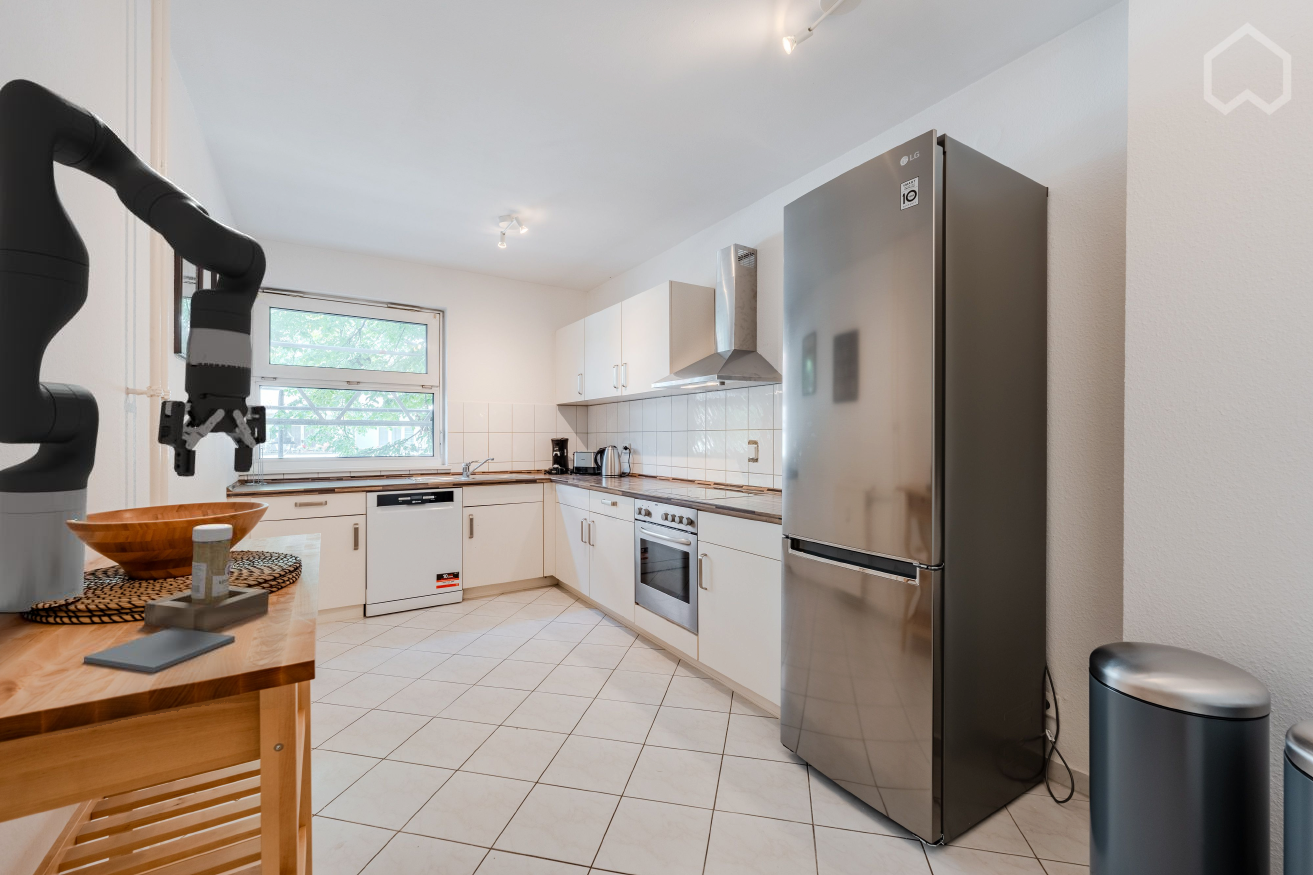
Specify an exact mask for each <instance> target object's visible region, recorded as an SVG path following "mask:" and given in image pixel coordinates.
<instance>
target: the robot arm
mask: <svg viewBox="0 0 1313 875" xmlns="http://www.w3.org/2000/svg"><path fill="white" fill-rule="evenodd" d="M106 123H107V122H105V121H104V120H102V119H101V118H100V117H99V116H98V115H96V114H95V113H94V112H92V111H91V110H88V109H87V108H85V107H83V106H81V105H80V104H78V103H76V102H74V101H72V100H70V99H69V98H66V97H64V96H63V95H61V94H59V93H57V92H56V91H54V90H52V89H49V88H48V87H47V86H43V85H41V84H39V83H37V82H34V81H32V80H28V79H24V78H18V79H13V80H10V81H8V82H6V83H5V84H4V85H3V86H2V87H1V89H0V444H8V445H21V444H22V445H29V444H33V445H34V444H35V445H37V444H38V445H39V447H38V449H37V451H36V453H35V454H34V455H32V456H31V457H30V458H28V459H26V460H24V461H22V462H21V463H17V464H15V465H11V466H9V467H6V468H3V469H1V470H0V613H19V612H30V609H31V607H32V606H34V605H35V604H38V603H43V602H50V601H59V600H65V599H69V598H74V597H77V596H79V595H81V594H83V595H84V579H85V577H84V576H85V564H86V563H85V562H86V560H85V558H86V543H85V544H84V543H83V542H82V541H81V540H80V539H79V538H78V537H77V536H76V535H75V534H74V533H73V531H71V530H70V529H69V527H68V526H67V525H66V521H67V520H75V519H77V520H75V521H84V522H86V523H87V514H88V513H87V511H88V510H87V508H88V483H89V482H88V481H89V478H90V475H91V474H92V471H93V470H94V466H95V460H96V450H97V443H98V434H99V424H100V411H99V406H98V405H99V404H98V402H97V399H96V398H95V396H94V394H93V393H92V392H91V391H90V390H89V389H87V388H86V387H84V386H81V385H78V384H73V383H60V382H50V381H40V380H41V379H40V375H41V368H42V367H41V366H42V362H43V359H44V358H43V357H44V355H45V352H46V349H47V348H48V346H49V344H50V342H51V341H52V339H54V338H55V336H56V335H57V334H58V333H59V332H60V331H61V330H62V329H63V328H64V327H66V326H67V324H69V322H70V321H71V320H73V319H74V317H75V316H76V315H77V314H78V313H79V312H80V310H81V309H82V308H83V307H84V305H85V303H86V301H87V300H88V299H87V298H88V294H89V280H90V279H89V277H90V255H89V251H88V249H87V245H86V244H85V242H84V240H83V238H82V236H81V233H80V232H79V230H78V229H77V227H76V225H75V222H74V221H73V220H72V218H71V216H70V214H69V213H68V212H67V210H66V208H65V205H64V204H63V202H62V200H61V198H60V196H59V193H58V190H57V185H56V181H55V169H54V168H55V167H54V162H56V163H57V164H60V165H63V166H65V167H68V168H73V169H76V170H79V171H81V172H83V173H85V174H87V175H89V176H92V177H93V178H95V179H97V180H99V181H101V182H103V183H105V184H106V185H108V186H110V187H111V189H114V191H115V193H116V196H117V197H118V199H119V200H120V202H121V203H122V204H123V205H124V207H125V208H126V209H127V210H128V211H129V212H131V214H133V215H134V216H136V218H138V219H139V220H140V221H142V222H143V223H144V224H146V225H147V226H148V227H149V228H151V229H152V230H154V231H155V232H156V233H158V234H159V235H161V237H163V239H164V240H165V242H166V243H167V244H168V245H169V246H170V247H171V248H172V250H173V251H174V252H175V253H176V254H178V256H179V257H181V258H182V260H185V261H186V262H187V263H189V264H191V265H193V266H194V267H197V268H199V269H201V270H203V271H204V270H205V271H207V272H210V273H213V274H216V275H218V278H217V281H216V284H215V285H214V288H201V289H197V290H195V291H194V292H193V293H192V295H191V298H190V303H189V304H190V309H189V310H190V312H189V330H188V336H187V341H186V346H185V347H186V350H185V368H184V369H185V373H184V392H185V393H187V396H188V397H187V400H186V402H184V401H182V400H172V399H170V400H169V399H168V400H165V399H164V400H163V401H162V402H161V404H160V405H161V407H160V414H159V425H158V433H157V443H158V444H160V445H166V446H169V447H171V448H173V450H174V455H173V458H174V460H173V461H174V462H173V469H174V473H176V475H177V476H178V477H183V478H184V477H185V478H189V477H190V478H191V477H194V476H195V475H196V473H195V472H196V453H197V450H196V449H194V448H195V447H196V446H197V444H199V442H200V441H201V439H203V438H205V437H207V436H208V434H210V433H213V434H216V433H223V434H225V435H226V436H227V437H229V438H231V440H232V441H233V443H234V445H235V446H236V447H234V460H233V470H234V472H236V473H249V472H250V471H251V469H252V466H253V456H254V454H253V452H254V448H255V447H256V446H257V445H259V444H265V443H266V442H267V417H266V416H267V409H266V407H265V406H264V405H254V404H248V405H247V402H246V401H247V400H246V399H247V398H249V397H250V395H251V386H252V360H253V359H252V358H253V348H252V347H253V346H252V342H251V341H252V340H251V339H252V338H251V334H252V332H251V331H252V309H253V308H254V307H253V306H254V304H255V302H256V300H257V296H258V294H259V291H260V290H261V289H260V288H261V285H262V284H263V280H264V278H265V274H266V270H267V258H266V255H265V251H264V249H263V247H262V246H261V244H260V243H259V241H257V240H256V239H255V238H253V237H252V236H250V235H248V234H246V233H243V232H241V231H239V230H237V229H234V228H232V227H230V226H228V225H226V224H223V223H221V222H219V221H217V220H216V219H214V218H212V217H211V216H210V214H209V211H208V210H206V208H205V207H204V206H203V205H202V204H201V203H200V202H198V201H197V200H196V199H195V198H193V196H191V195H190V194H188V193H187V192H185V191H184V190H183V189H182V188H180V187H178V186H177V185H176V184H175V183H173V182H172V181H170V180H169V179H167V177H165V176H163V175H162V174H161V173H159V172H158V171H157V170H155V169H154V168H152V167H151V166H149V165H148V164H147V163H146V162H145V161H144V160H142V159H141V158H140V157H139V156H138V155H137V154H136V153H135V152H134V150H132V149H131V148H130V147H129V146H128V145H127V144H126V143H125V142H124V141H123V139H121V138H120V137H119V135H118V134H117V133H116V132H115V131H114V130H113V129H112V128H111V127H110V126H109V124H106ZM185 416H188V419H186V421H185ZM244 418H245V420H244Z"/></svg>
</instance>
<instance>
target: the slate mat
mask: <svg viewBox="0 0 1313 875" xmlns="http://www.w3.org/2000/svg"><path fill="white" fill-rule="evenodd" d="M235 640H236V636H235V635H229V634H224V633H223V634H222V633H215V632H210V631H207V632H202V631H195V630H187V629H180V628H173V627H172V628H167V629H164V630H161V631H158V632H155V633H151V634H149V635H148V634H147V635H146V636H142V637H140V638H137V639H134V640H129V641H127V642H125V643H122V644H117V645H115V646H111V647H109V648H107V649H103V650H101V651H100V650H99V651H97V652H94V653H90V654H88V655H84V657H83V662H84V663H89V664H90V663H91V664H97V665H102V666H103V665H104V666H109V667H116V668H123V669H128V670H134V671H140V672H148V673H154V674H155V672H158V671H162V670H164V669H166V668H169V667H172V666H173V665H176V664H179V663H182V662H184V661H186V660H189V659H192V658H194V657H196V656H199V655H201V654H204V653H207V652H209V651H212V650H214V649H218V648H219V647H222V646H224V645H227V644H229V643H231V642H234V641H235Z"/></svg>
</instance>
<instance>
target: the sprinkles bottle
mask: <svg viewBox="0 0 1313 875" xmlns="http://www.w3.org/2000/svg"><path fill="white" fill-rule="evenodd" d="M232 537H233V526H232V525H231V524H226V523H214V524H213V523H211V524H202V525H197V526H194V527H193V529H192V538H191V540H192V544H193V554H192V555H193V556H192V564H191V565H192V566H191V567H192V568H191V585H190V586H191V588H190V589H191V590H190V591H191V597H192V604H199V605H210V604H213V603H217V602H220V601H223V600H226V599H228V592H229V586H230V574H231V573H230V572H231V562H230V560H231V559H230V557H231V541H232Z"/></svg>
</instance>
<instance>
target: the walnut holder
mask: <svg viewBox="0 0 1313 875" xmlns="http://www.w3.org/2000/svg"><path fill="white" fill-rule="evenodd" d="M269 593H270V590H269V589H268V590H267V589H260V588H251V587H243V586H235V585H229V592H228V599H226V600H223V601H220V602H217V603H213V604H210V605H199V604H192V597H191V590H188V591H184V592H180V593H176V594H173V595H169V596H165V597H161V598H158V599H155V600H151V601H147V602H145V604H144V620H143V621H144V622H143V625H147V626H154V627H160V628H161V627H162V628H167V629H169V628H172V627H173V628H180V629H187V630H195V631H202V632H210V631H213V630H215V629H218V628H221V627H223V626H227V625H229V624H232V623H234V622H238V621H240V620H243V619H245V618H249V617H251V616H255V615H257V614H261V613H263V612H266V611H268V610H269V598H270V594H269Z"/></svg>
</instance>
